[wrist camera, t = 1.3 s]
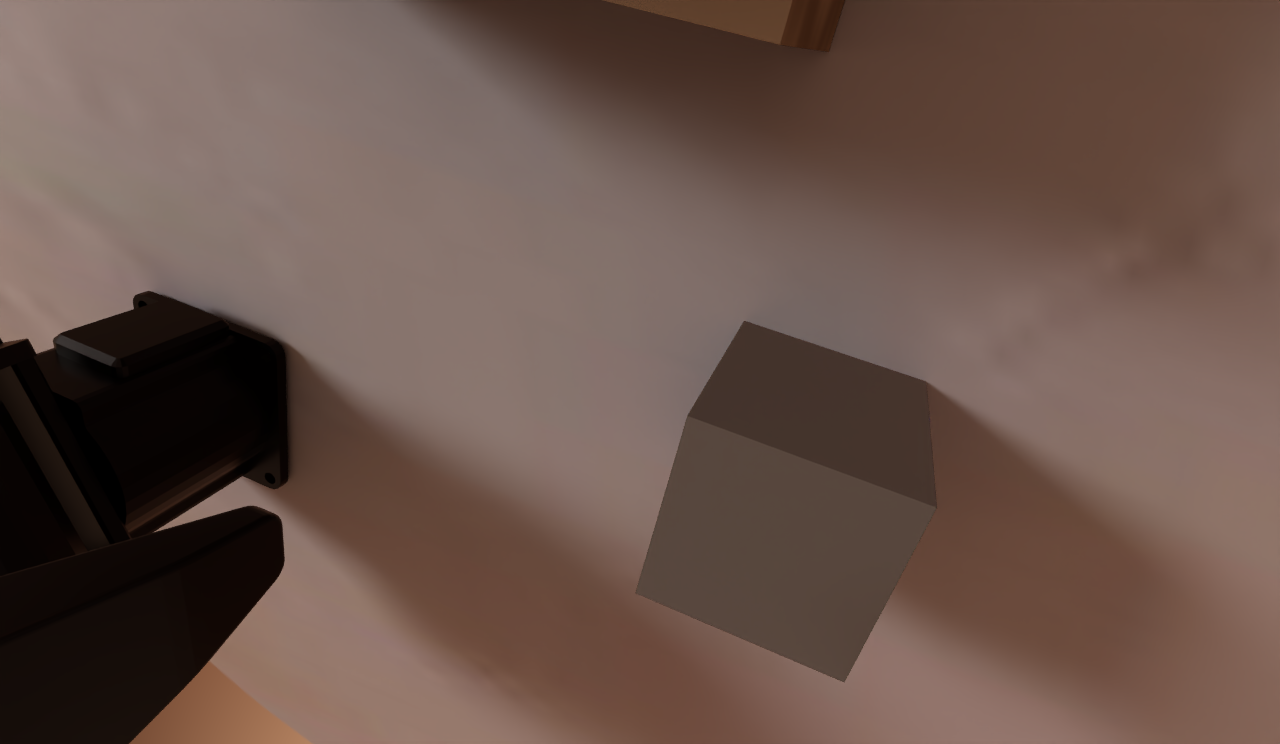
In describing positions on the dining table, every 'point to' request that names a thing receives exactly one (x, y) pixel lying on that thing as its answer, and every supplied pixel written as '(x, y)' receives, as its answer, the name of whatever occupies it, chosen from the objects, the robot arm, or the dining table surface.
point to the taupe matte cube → (794, 499)
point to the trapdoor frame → (756, 18)
